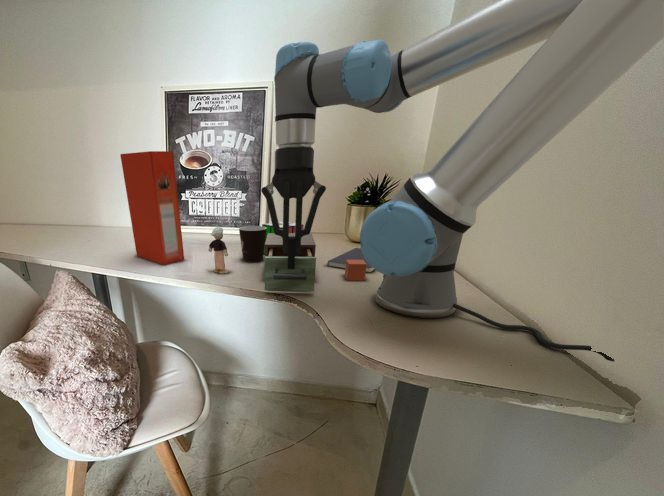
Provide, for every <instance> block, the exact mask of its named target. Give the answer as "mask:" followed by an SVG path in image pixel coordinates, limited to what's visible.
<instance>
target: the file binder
mask: <svg viewBox="0 0 664 496" xmlns="http://www.w3.org/2000/svg"><path fill="white" fill-rule="evenodd" d="M119 156H120V161H121V168H122V173H123V174H122V175H123V180H124V186H125V191H126V198H127V199H126V200H127V204H128V210H129V211H128V212H129V216H130V223H131V229H132V235H133V241H134V247H135V253H136V256H137V257H138V258H142V259H145V260H147V261H151V262H153V263H156V264H159V265H163V266H166V265H167V266H168V265H170V264H174V263H175V264H176V263H178V262H183V261H184V260H185V254H184V243H183V242H184V241H183V235H182V225H181V215H180V206H179V195H178V187H177V177H176V167H175V166H176V165H175V158H174V151H173V150H171V151H169V150H168V151H167V150H166V151H165V150H161V151H160V150H159V151H157V150H152V151H151V150H150V151H139V152H127V153H121V154H119Z"/></svg>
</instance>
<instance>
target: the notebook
mask: <svg viewBox="0 0 664 496" xmlns="http://www.w3.org/2000/svg"><path fill="white" fill-rule="evenodd" d="M346 260H364V262H365V263H366V264H367V266H366V273H365V274H367V273H368V274H371V273H373V272H374V271H376V270H375V269H374V268H373V267H371V266H370V265H369V263H368V262H367V261H366V259H365V258H364V256H363V254H362V251H361V247H354V248H352V249H350V250H348V251H346V252H343V253H341V254H340V255H338V256H335V257H333V258H331V259H329V260H327V267H332V268H338V269H344V270H345V266H346Z"/></svg>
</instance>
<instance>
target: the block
mask: <svg viewBox="0 0 664 496" xmlns="http://www.w3.org/2000/svg"><path fill="white" fill-rule="evenodd" d="M366 266H367V264H366V263H365V262H364V260H346V266H345V269H344V278H345V279H346V281H357V282H359V281H361V282H363V281H365V279H366V274H367V273H366Z"/></svg>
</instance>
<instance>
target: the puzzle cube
mask: <svg viewBox="0 0 664 496" xmlns="http://www.w3.org/2000/svg"><path fill="white" fill-rule="evenodd" d="M278 222H279V227H280V229H282V230H283V220H282V221H278ZM261 226H262V227H266V228H267V229H266V238H265V242H266V239H267V235H268V233H274V230H273V225H272V222H269V223H262V224H261ZM304 227H305V224H303V223H302V228H301V229H304ZM289 233H295V222H291V221H289ZM264 255H265V246H264Z"/></svg>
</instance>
